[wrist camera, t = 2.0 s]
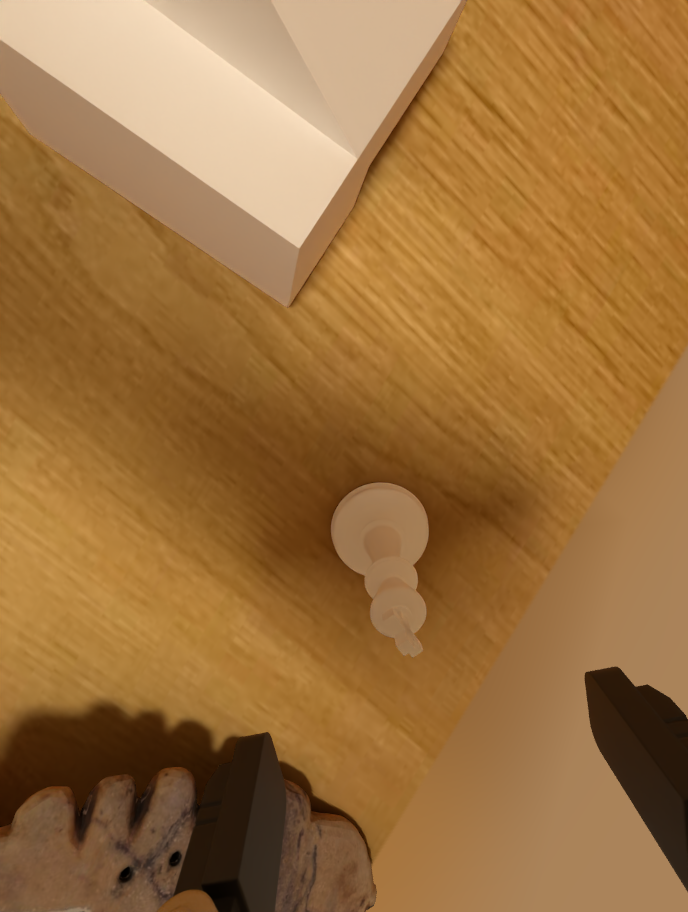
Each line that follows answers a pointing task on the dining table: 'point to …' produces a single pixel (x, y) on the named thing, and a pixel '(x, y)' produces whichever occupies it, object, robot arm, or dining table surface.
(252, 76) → the white cardboard box
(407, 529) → the chess piece
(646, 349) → the dining table surface
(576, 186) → the dining table surface
